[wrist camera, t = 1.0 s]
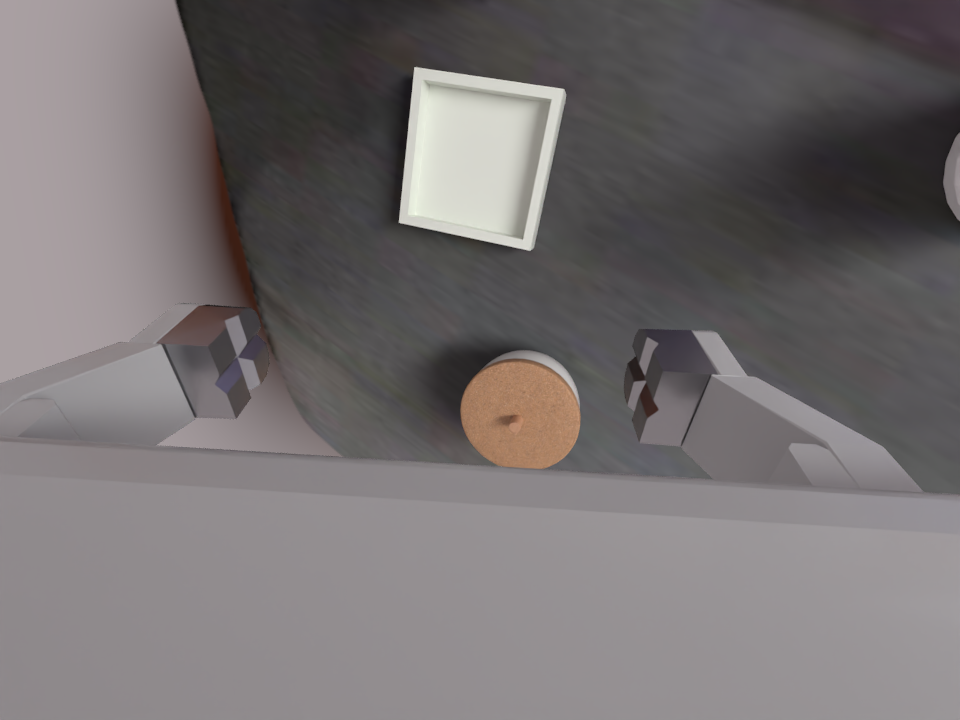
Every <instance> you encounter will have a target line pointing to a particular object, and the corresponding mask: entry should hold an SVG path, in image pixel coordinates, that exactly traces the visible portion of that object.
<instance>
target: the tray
mask: <svg viewBox="0 0 960 720" xmlns="http://www.w3.org/2000/svg"><path fill="white" fill-rule="evenodd" d="M565 100H566V93H565V90H564V89H560V88H553V87H546V86H539V85H532V84H526V83H519V82H512V81H505V80H499V79H492V78H485V77H478V76H471V75H465V74H458V73H451V72H444V71H438V70H431V69H424V68H417V67H414V77H413V87H412V97H411V106H410V116H409V126H408V136H407V146H406V156H405V166H404V176H403V186H402V196H401V206H400V216H399V223H403V224H407V225H412V226H417V227H421V228H426V229H431V230H435V231H440V232H445V233H449V234H454V235H459V236H464V237H468V238H473V239H478V240H482V241H487V242H492V243H496V244H501V245H506V246H510V247H515V248H520V249H524V250H529V251H530V250H532V249H533V248H534V246H535V241H536V236H537V232H538V227H539V222H540V217H541V213H542V208H543V203H544V199H545V194H546V189H547V185H548V180H549V175H550V171H551V166H552V161H553V156H554V152H555V147H556V142H557V138H558V133H559V128H560V124H561V119H562V114H563V110H564V105H565Z"/></svg>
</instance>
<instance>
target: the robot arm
mask: <svg viewBox="0 0 960 720" xmlns="http://www.w3.org/2000/svg"><path fill="white" fill-rule="evenodd" d="M260 327H261V324H260V321H259V318H258V316H257V313H256V312H255V311H254V310H253V309H251V308H247V307H232V306H219V305H203V304H189V303H188V304H187V303H181V304H175V305H174V306H172V307H171V308H170V309H169V310H167V311H166V312H165V313H164V314H162V315H161V316H160V317H159V318H157V319H156V320H155V321H154V322H152V323H151V324H150V325H149V326H147V327H146V328H145V329H144V330H143V331H141V332H140V333H139V334H137V335H136V336H135V337H134V338H132V339H131V340H130V341H129V342H118V343H116V344H113V345H110V346H107V347H104V348H101V349H99V350H96V351H93V352H90V353H87V354H84V355H81V356H78V357H75V358H72V359H69V360H67V361H64V362H61V363H58V364H55V365H52V366H49V367H46V368H43V369H41V370H38V371H35V372H32V373H29V374H26V375H24V376H20V377H18V378H15V379H12V380H9V381H6V382H3V383H0V720H960V494H943V493H927V492H923V491H922V490H921V489H920V487H919V486H918V485H917V484H916V483H915V482H914V481H913V480H912V478H911V477H910V476H909V475H908V474H907V473H906V472H905V471H904V470H903V468H902V467H901V466H900V465H899V464H898V463H897V462H896V461H895V460H894V458H893V457H892V456H891V455H890V454H889V453H888V452H887V451H886V450H885V448H884V447H882V446H880V445H879V444H877V443H875V442H873V441H871V440H869V439H868V438H866V437H864V436H862V435H860V434H859V433H857V432H855V431H853V430H851V429H849V428H848V427H846V426H844V425H842V424H840V423H838V422H837V421H835V420H833V419H831V418H829V417H828V416H826V415H824V414H822V413H820V412H818V411H817V410H815V409H813V408H811V407H809V406H807V405H806V404H804V403H802V402H800V401H798V400H797V399H795V398H793V397H791V396H789V395H787V394H786V393H784V392H782V391H780V390H778V389H776V388H775V387H773V386H771V385H769V384H767V383H766V382H764V381H762V380H760V379H758V378H756V377H748V376H747V375H746V374H745V372H744V371H743V369H742V368H741V366H740V365H739V364H738V362H737V361H736V359H735V358H734V356H733V355H732V353H731V352H730V351H729V349H728V348H727V346H726V345H725V343H724V342H723V341H722V339H721V338H720V336H719V335H718V333H716V332H714V331H698V330H663V329H639V330H638V332H637V333H636V335H635V338H634V342H633V345H632V347H633V349H634V352H635V355H636V357H634V358H633V359H632V360H631V361H630V362H629V363H628V364H627V368H626V372H625V378H624V394H625V399H626V402H627V405H628V406H629V407H630V408H631V409H633V410H634V415H633V418H632V422H633V425H634V428H635V431H636V434H637V437H638V440H639V443H647V444H659V445H671V446H682V449H683V450H684V451H685V452H686V453H687V454H688V455H689V456H690V457H691V458H692V459H693V460H694V461H695V462H696V463H697V464H698V465H699V466H700V467H701V468H702V469H703V470H705V471H706V472H707V473H708V474H709V475H710V476H711V477H712V478H713V479H698V478H682V477H665V476H649V475H632V474H616V473H599V472H583V471H567V470H550V469H534V468H517V467H501V466H484V465H468V464H451V463H435V462H419V461H402V460H386V459H369V458H353V457H337V456H320V455H304V454H287V453H271V452H255V451H238V450H222V449H206V448H205V449H204V448H189V447H173V446H157V444H159V443H160V442H162V441H163V440H165V439H166V438H168V437H169V436H171V435H172V434H174V433H175V432H177V431H178V430H180V429H182V428H183V427H185V426H186V425H188V424H189V423H191V422H192V421H194V420H195V418H224V419H236V418H237V417H238V416H239V414H240V413H241V411H242V410H243V408H244V407H245V405H246V404H247V403H248V402H249V400H250V399H251V396H250V393H249V390H251V389H253V388H255V387H257V386H258V385H260V384H261V383H262V382H263V380H264V378H265V377H266V375H267V371H268V367H269V352H268V348H267V345H266V343H265V342H264V341H263V340H262V339H261V338H260V337H259V336H258V335H257V333H258V331H259V329H260Z"/></svg>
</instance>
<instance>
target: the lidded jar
mask: <svg viewBox="0 0 960 720" xmlns="http://www.w3.org/2000/svg"><path fill="white" fill-rule="evenodd" d="M460 414H461V421H462V426H463V428H464V431H465V434H466V435H467V437H468V439H469V441H470V442H471V443H472V445H473V446H474V447H475V449H476V450H477V451H479V452H480V453H481V454H482V455H483V456H484V457H486V458H487V459H488V460H490V461H492V462H493V463H495V464H497V465H499V466H502V467H517V468H534V469H543V468H546V467H549V466H551V465H553V464H555V463H557V462H559V461H560V460H561V459H563V458H564V457H565V456H566V455H567V454H568V453H569V452H570V450H571V449H572V447H573V446H574V444H575V442H576V439H577V437H578V433H579V429H580V402H579V396H578V392H577V389H576V385H575V383H574V381H573V380H572V378H571V376H570V374H569V373H568V372H567V370H566V369H565V368H564V367H563V366H562V365H561V364H560V363H559V362H557V361H556V360H555V359H553V358H551V357H550V356H548V355H546V354H543V353H540V352H536V351H531V350H518V351H512V352H508V353H505V354H503V355H501V356H498V357H496V358H495V359H493V360H492V361H490V362H489V363H488V364H487V365H485V366H484V367H483V368H482V369H481V370H480V371H479V372H478V373H477V374H476V375H475V376H474V377H473V379H472V380H471V381H470V383H469V384H468V385H467V387H466V389H465V391H464V393H463V397H462V400H461V407H460Z"/></svg>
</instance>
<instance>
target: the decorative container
mask: <svg viewBox="0 0 960 720" xmlns="http://www.w3.org/2000/svg"><path fill="white" fill-rule="evenodd" d="M943 186H944V191H945V195H946V200H947V204H948V205H949V207H950V208H951V210H952V211H953V213H954V215H955V216H956V218H957V219H958V220H959V221H960V132H959V133H958V135H957V136H956V138H955V139H954V142H953V144H952V147H951V149H950V152H949V154H948V157H947V159H946V162H945V170H944V178H943Z"/></svg>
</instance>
